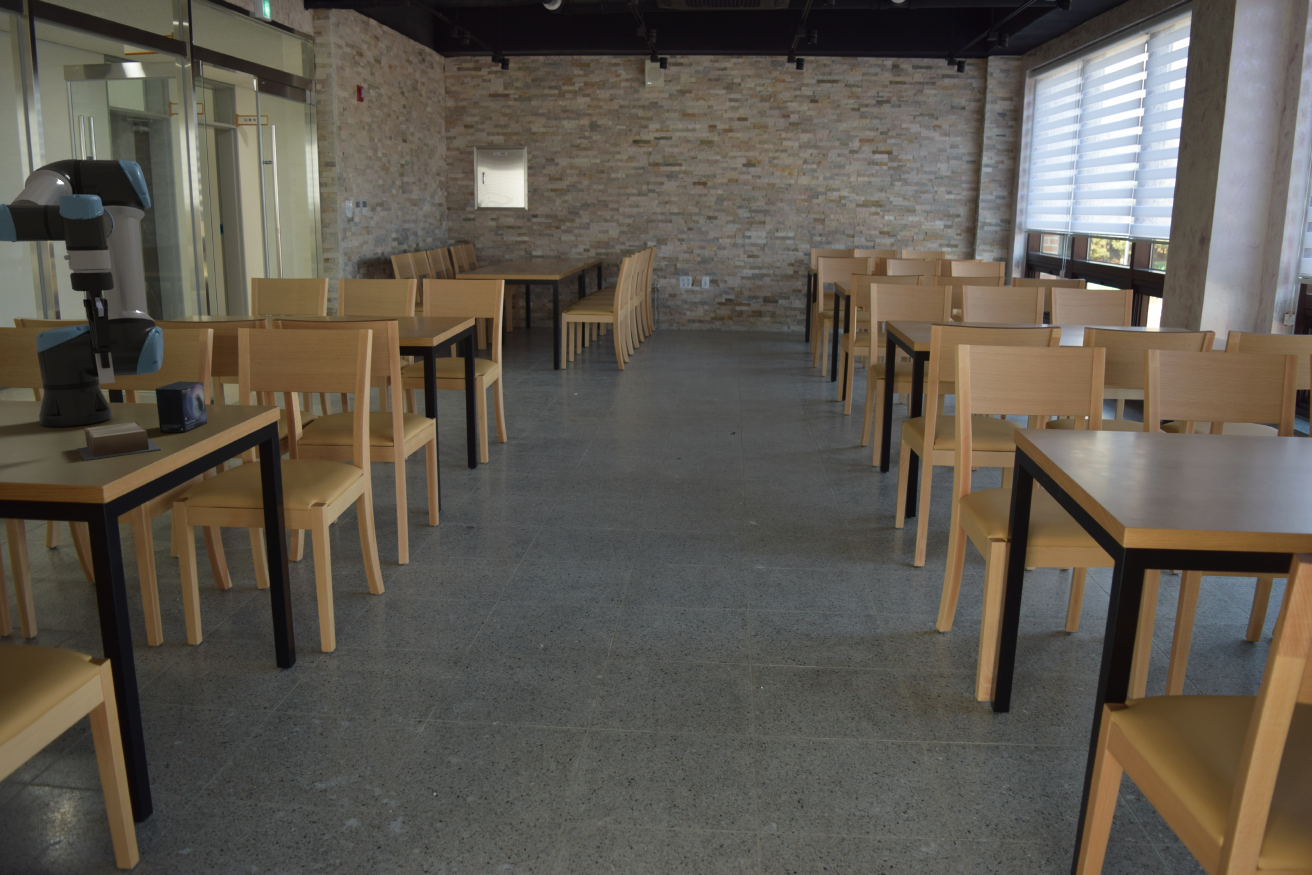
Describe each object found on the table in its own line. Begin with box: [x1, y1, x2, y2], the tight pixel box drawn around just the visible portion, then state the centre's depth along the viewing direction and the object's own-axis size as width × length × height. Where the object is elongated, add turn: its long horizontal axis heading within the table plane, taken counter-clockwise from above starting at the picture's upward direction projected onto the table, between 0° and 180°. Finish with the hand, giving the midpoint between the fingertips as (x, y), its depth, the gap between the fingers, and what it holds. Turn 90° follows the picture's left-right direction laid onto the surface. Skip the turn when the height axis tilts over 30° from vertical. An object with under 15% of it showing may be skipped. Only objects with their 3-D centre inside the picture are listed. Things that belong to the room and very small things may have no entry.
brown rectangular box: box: [83, 421, 149, 457], centre depth 195 cm, size 4×10×12 cm
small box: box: [154, 380, 208, 433], centre depth 215 cm, size 11×6×10 cm, turn 179°
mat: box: [76, 438, 161, 462], centre depth 195 cm, size 12×14×1 cm
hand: (107, 382), depth 194 cm, fingers closed
